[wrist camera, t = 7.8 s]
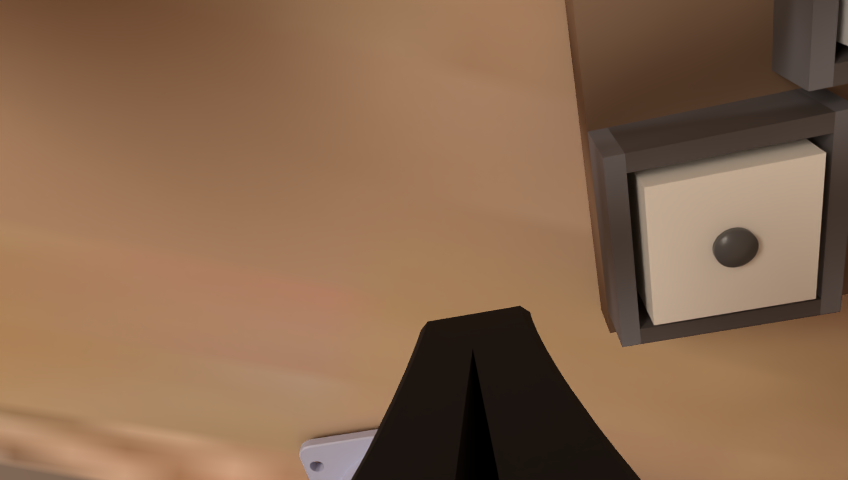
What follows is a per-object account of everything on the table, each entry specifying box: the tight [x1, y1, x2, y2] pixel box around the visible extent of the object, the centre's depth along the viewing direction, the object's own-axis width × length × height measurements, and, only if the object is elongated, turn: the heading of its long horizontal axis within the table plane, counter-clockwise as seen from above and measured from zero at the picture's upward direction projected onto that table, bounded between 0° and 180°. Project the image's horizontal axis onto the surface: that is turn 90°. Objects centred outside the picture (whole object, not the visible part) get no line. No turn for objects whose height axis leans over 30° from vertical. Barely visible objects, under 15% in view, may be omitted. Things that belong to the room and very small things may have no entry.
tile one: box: [627, 138, 826, 325], centre depth 17 cm, size 4×4×2 cm
